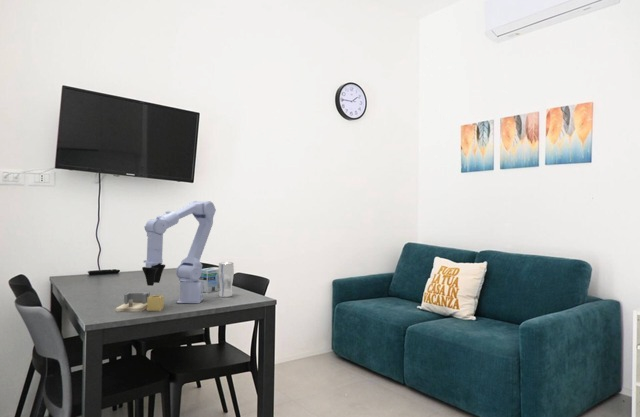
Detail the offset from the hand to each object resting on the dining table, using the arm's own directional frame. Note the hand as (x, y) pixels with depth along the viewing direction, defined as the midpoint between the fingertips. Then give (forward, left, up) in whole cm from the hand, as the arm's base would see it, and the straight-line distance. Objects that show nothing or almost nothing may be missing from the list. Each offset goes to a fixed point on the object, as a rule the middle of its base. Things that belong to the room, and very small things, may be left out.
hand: (153, 284), depth 173 cm
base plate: (+8, -3, -10) cm, 13 cm away
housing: (+9, -6, -8) cm, 14 cm away
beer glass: (-24, -26, -10) cm, 37 cm away
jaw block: (-1, 0, -10) cm, 10 cm away
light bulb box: (-15, -39, -10) cm, 43 cm away
